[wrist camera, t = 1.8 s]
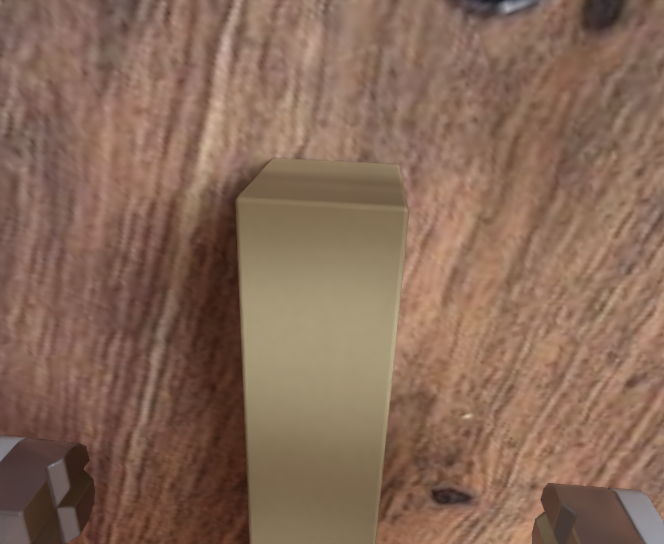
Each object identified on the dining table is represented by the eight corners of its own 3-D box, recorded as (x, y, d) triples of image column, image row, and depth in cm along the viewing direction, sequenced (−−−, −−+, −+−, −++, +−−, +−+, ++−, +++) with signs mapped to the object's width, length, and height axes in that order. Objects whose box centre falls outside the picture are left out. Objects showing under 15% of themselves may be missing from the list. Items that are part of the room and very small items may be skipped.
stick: (271, 156, 10) (233, 197, 7) (400, 163, 9) (410, 206, 7) (275, 535, 14) (253, 647, 11) (365, 543, 13) (364, 659, 11)
